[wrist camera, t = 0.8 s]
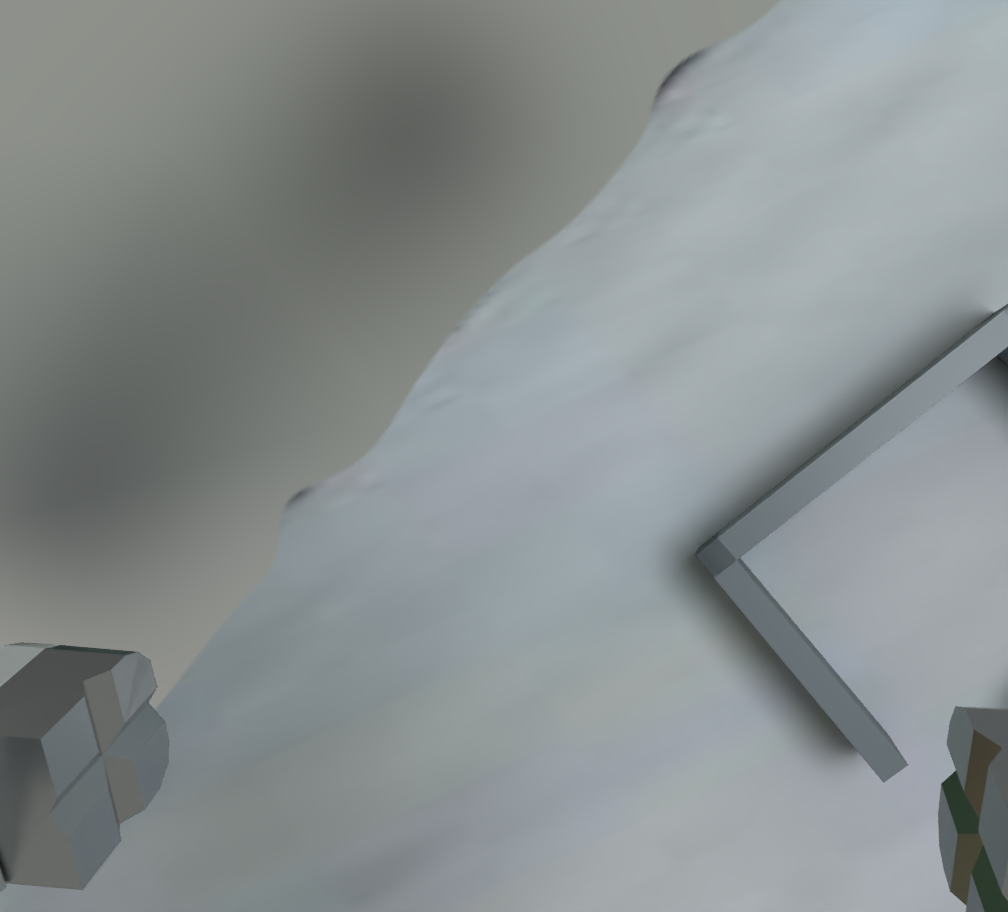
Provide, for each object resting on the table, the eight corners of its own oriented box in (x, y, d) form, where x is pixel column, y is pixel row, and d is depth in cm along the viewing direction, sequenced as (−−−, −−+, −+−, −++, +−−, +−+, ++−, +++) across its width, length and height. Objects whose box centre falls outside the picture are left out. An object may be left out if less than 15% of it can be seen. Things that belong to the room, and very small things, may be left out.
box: (1189, 515, 50) (1250, 519, 44) (866, 750, 53) (883, 782, 47) (995, 311, 52) (1029, 290, 47) (698, 548, 56) (695, 555, 50)
